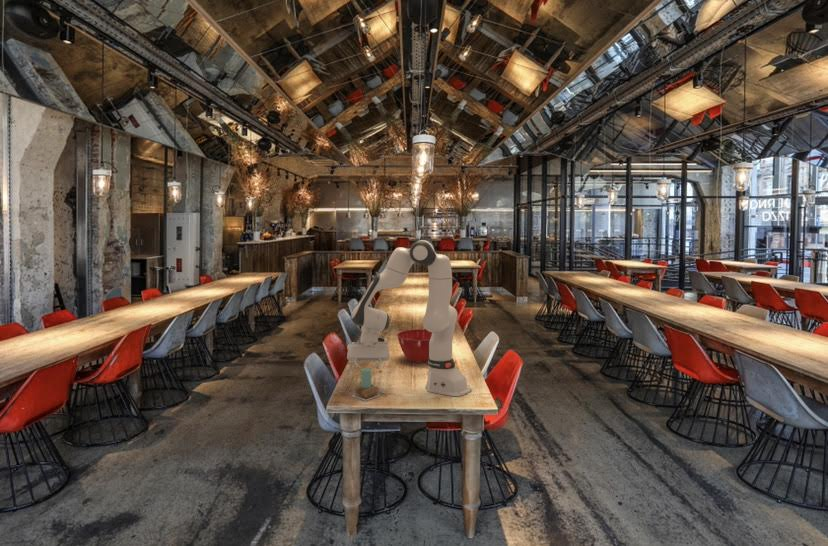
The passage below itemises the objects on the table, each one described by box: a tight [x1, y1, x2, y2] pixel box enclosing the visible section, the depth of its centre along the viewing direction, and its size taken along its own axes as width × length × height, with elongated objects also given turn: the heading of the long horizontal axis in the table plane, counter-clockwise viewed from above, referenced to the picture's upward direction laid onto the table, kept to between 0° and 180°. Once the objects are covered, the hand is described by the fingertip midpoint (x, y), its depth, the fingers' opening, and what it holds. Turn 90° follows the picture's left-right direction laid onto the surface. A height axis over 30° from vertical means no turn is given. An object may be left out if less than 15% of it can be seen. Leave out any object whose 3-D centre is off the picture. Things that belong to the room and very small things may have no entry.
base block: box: [354, 384, 378, 399], centre depth 228 cm, size 7×7×4 cm
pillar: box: [360, 367, 372, 388], centre depth 227 cm, size 4×4×8 cm
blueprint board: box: [348, 392, 385, 403], centre depth 228 cm, size 12×12×1 cm
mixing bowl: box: [396, 328, 432, 364], centre depth 287 cm, size 28×28×16 cm
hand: (367, 368), depth 233 cm, fingers open, 8 cm apart
